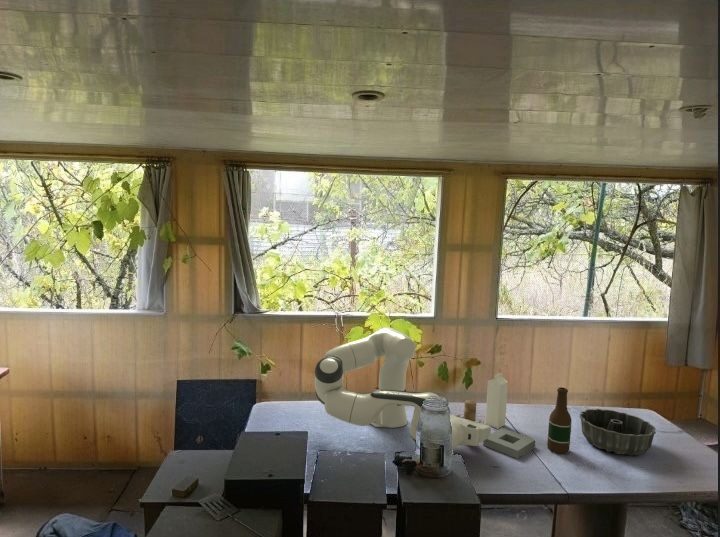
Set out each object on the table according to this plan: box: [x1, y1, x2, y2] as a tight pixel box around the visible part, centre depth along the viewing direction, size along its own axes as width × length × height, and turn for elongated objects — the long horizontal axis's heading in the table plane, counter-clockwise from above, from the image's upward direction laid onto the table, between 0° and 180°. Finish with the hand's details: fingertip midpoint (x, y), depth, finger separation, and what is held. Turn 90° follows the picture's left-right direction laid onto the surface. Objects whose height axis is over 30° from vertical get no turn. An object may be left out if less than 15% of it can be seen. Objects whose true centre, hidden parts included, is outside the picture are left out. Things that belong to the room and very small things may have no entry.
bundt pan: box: [579, 408, 657, 457], centre depth 186 cm, size 26×26×10 cm
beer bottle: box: [546, 386, 572, 455], centre depth 179 cm, size 8×8×24 cm
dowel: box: [463, 399, 477, 422], centre depth 183 cm, size 4×4×16 cm
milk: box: [484, 372, 509, 430], centre depth 201 cm, size 6×6×22 cm
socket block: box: [482, 427, 536, 459], centre depth 182 cm, size 14×14×3 cm
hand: (470, 419), depth 183 cm, fingers open, 8 cm apart
